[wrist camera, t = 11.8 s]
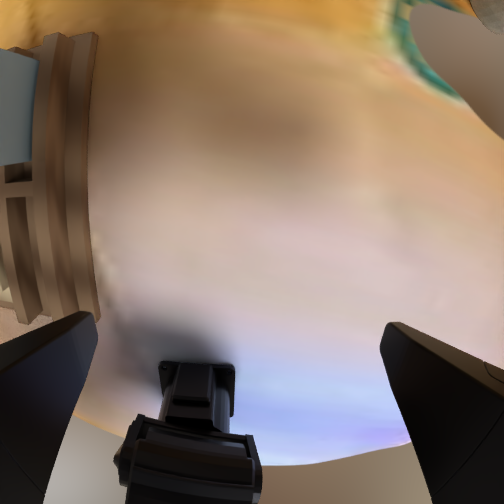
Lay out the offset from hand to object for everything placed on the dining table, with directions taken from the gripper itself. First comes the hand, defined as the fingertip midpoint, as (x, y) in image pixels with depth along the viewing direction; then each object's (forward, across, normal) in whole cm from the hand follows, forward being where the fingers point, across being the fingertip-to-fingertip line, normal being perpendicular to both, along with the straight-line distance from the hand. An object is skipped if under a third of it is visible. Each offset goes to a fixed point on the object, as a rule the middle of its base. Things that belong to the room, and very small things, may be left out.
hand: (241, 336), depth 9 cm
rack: (+13, +18, -3) cm, 22 cm away
